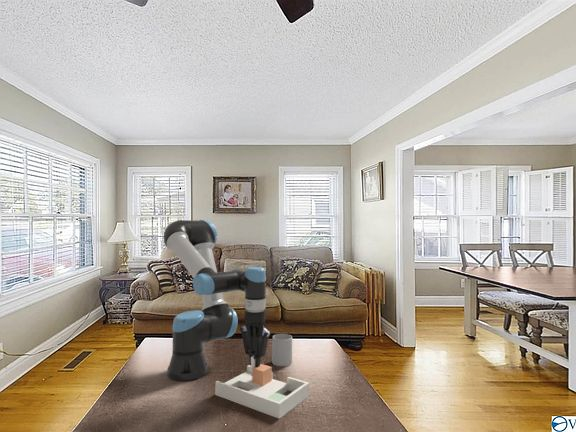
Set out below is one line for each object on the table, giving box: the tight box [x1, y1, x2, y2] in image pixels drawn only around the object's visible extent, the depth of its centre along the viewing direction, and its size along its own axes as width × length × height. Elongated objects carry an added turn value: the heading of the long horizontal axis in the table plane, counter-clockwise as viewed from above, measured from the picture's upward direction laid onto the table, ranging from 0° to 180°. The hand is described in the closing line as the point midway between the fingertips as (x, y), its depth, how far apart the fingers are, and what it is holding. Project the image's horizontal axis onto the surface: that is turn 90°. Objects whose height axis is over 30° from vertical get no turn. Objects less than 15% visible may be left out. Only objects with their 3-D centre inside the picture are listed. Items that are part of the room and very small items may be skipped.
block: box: [252, 363, 273, 386], centre depth 132 cm, size 5×5×5 cm
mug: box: [271, 333, 293, 367], centre depth 159 cm, size 12×8×11 cm
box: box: [214, 364, 310, 419], centre depth 127 cm, size 27×18×4 cm, turn 57°
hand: (254, 374), depth 134 cm, fingers closed
